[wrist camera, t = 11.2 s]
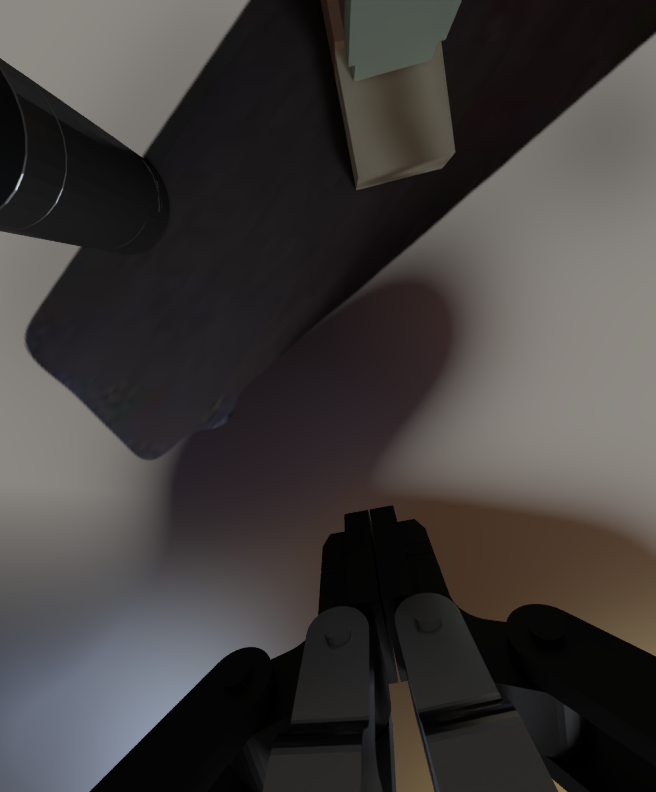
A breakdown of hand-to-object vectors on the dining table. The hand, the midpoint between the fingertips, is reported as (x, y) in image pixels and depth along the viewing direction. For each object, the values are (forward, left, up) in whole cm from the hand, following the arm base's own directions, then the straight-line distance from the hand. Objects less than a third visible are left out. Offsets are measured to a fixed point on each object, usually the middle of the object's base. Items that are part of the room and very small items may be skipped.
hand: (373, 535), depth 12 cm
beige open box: (+8, +21, -29) cm, 36 cm away
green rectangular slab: (+8, +24, -25) cm, 35 cm away
